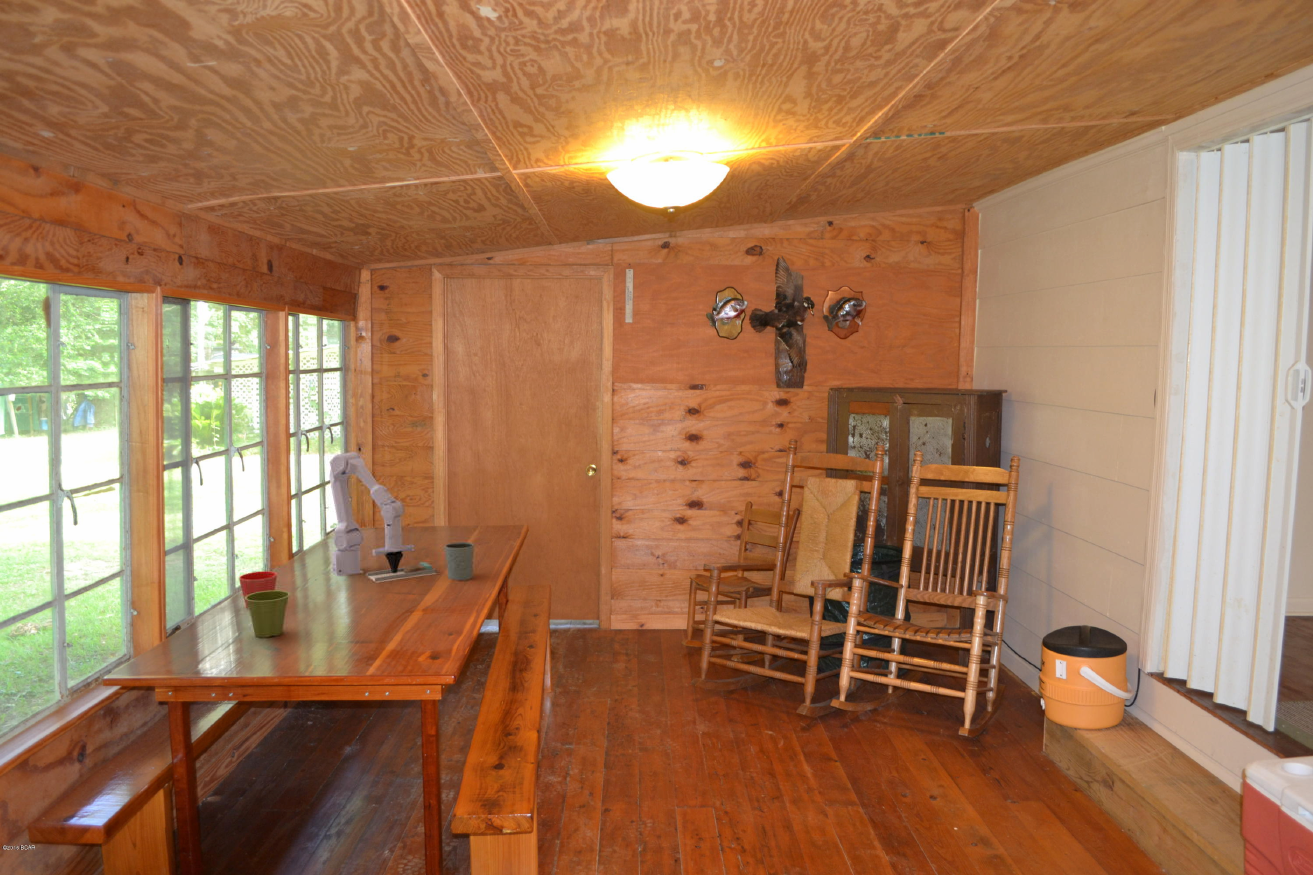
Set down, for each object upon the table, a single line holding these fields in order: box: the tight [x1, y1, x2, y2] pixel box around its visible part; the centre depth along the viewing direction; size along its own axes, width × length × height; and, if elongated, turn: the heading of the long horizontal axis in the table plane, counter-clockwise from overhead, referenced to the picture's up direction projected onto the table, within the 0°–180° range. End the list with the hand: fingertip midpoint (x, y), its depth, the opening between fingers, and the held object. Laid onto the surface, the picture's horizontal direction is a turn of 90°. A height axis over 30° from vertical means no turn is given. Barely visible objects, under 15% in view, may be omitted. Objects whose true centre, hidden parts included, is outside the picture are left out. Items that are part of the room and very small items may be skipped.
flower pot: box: [238, 570, 278, 609], centre depth 279 cm, size 11×11×10 cm
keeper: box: [403, 564, 425, 573], centre depth 320 cm, size 6×5×2 cm
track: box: [365, 561, 437, 583], centre depth 317 cm, size 22×12×3 cm, turn 126°
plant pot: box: [244, 589, 291, 638], centre depth 250 cm, size 12×12×11 cm
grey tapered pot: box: [444, 541, 475, 582], centre depth 314 cm, size 10×10×12 cm
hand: (394, 572), depth 316 cm, fingers closed
